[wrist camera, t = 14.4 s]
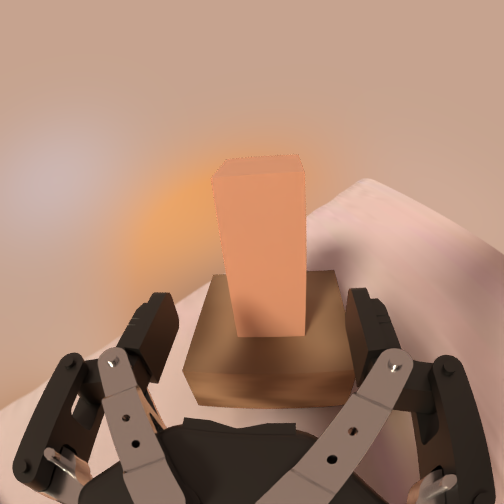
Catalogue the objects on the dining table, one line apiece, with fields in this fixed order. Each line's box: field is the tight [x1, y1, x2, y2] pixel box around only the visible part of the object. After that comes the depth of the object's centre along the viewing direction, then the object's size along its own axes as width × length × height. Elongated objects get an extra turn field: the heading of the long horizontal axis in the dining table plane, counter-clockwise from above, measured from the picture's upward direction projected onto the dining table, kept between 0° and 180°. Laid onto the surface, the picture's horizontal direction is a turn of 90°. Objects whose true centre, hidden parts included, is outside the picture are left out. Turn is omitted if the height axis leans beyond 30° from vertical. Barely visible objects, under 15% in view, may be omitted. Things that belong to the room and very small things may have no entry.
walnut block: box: [182, 270, 355, 409], centre depth 24 cm, size 12×12×5 cm
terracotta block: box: [211, 155, 306, 337], centre depth 20 cm, size 5×5×12 cm
